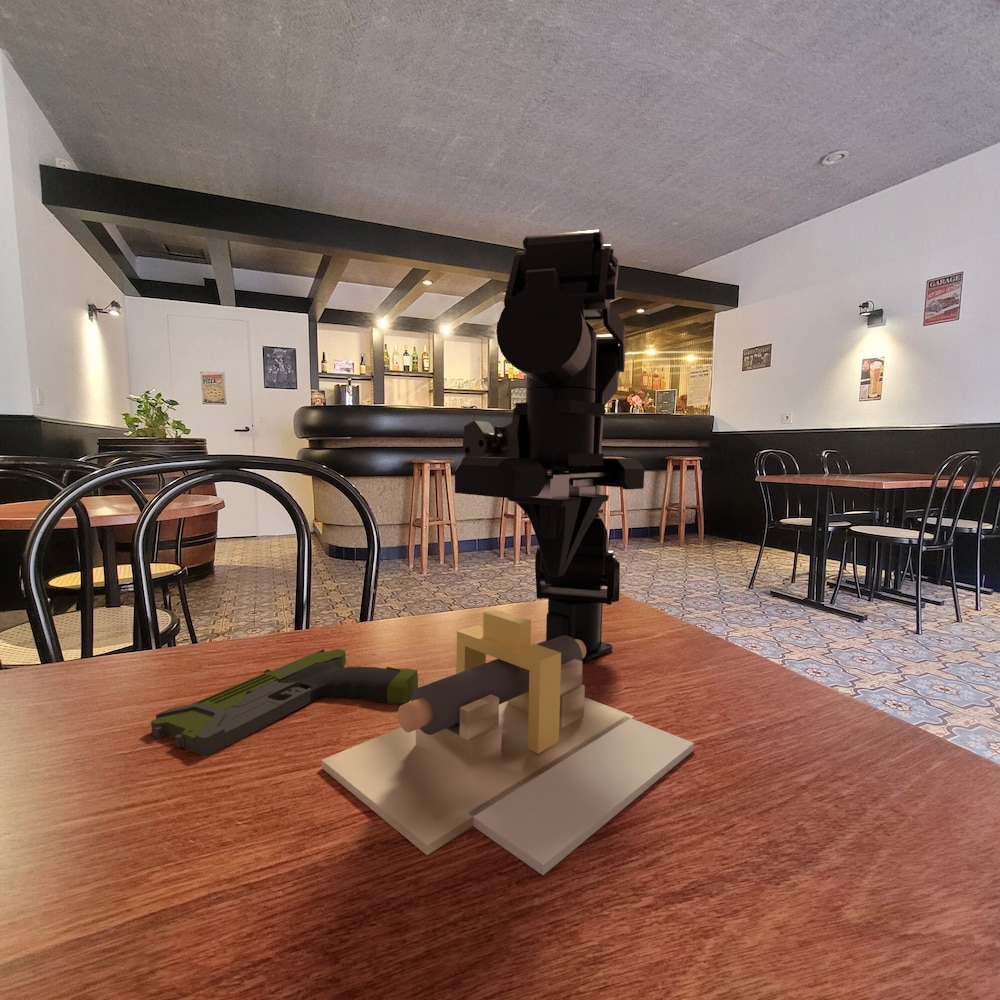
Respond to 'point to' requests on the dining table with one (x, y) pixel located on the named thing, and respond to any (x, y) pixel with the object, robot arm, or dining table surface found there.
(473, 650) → the strap
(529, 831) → the mat
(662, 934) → the dining table surface
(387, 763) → the holder
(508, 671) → the dark grey cylinder rod
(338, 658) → the gun
